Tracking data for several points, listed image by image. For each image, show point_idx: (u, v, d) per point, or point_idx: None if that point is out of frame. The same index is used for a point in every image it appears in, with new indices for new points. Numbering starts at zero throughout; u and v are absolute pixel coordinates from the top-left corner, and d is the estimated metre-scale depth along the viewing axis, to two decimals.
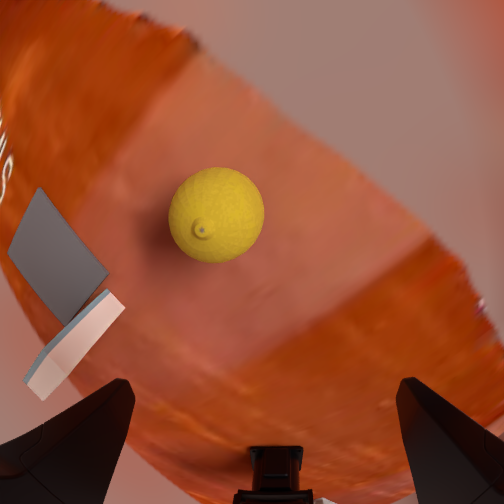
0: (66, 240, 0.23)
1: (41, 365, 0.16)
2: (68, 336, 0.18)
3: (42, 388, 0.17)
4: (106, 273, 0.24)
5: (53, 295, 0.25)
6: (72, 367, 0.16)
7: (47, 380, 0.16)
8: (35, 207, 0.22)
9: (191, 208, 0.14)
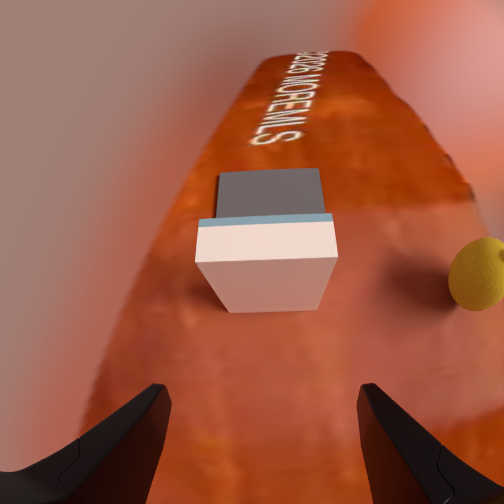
0: None
1: (296, 224, 0.15)
2: None
3: (236, 246, 0.15)
4: None
5: None
6: None
7: (275, 243, 0.15)
8: (301, 175, 0.28)
9: (500, 243, 0.16)
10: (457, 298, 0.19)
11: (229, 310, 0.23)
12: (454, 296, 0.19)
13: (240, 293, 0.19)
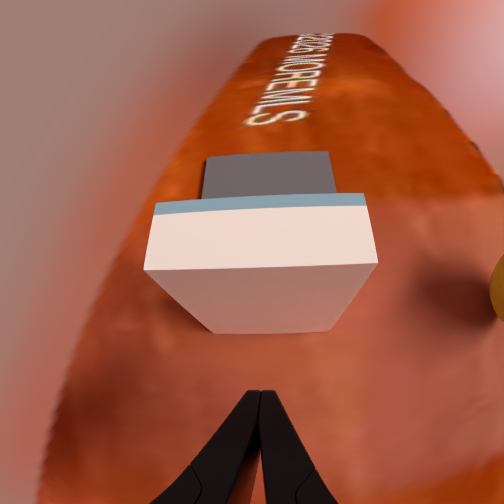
0: None
1: (308, 209, 0.09)
2: None
3: (209, 245, 0.09)
4: None
5: None
6: None
7: (274, 239, 0.09)
8: (308, 159, 0.22)
9: None
10: (503, 313, 0.13)
11: (213, 331, 0.17)
12: (498, 310, 0.13)
13: (224, 314, 0.13)
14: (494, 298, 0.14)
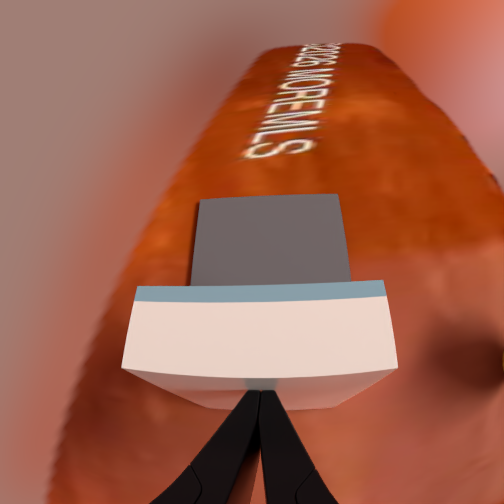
0: (333, 270, 0.18)
1: (318, 303, 0.07)
2: None
3: (197, 347, 0.07)
4: None
5: None
6: None
7: (275, 343, 0.07)
8: (315, 204, 0.20)
9: None
10: None
11: (207, 407, 0.14)
12: None
13: (218, 400, 0.11)
14: None
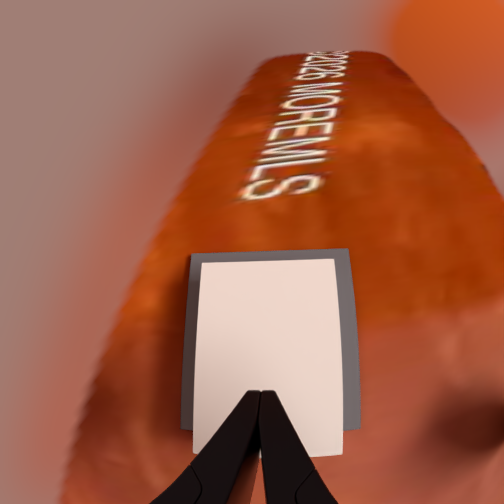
0: None
1: None
2: None
3: None
4: (359, 425, 0.13)
5: None
6: None
7: None
8: None
9: None
10: None
11: (195, 441, 0.12)
12: None
13: (227, 360, 0.13)
14: None
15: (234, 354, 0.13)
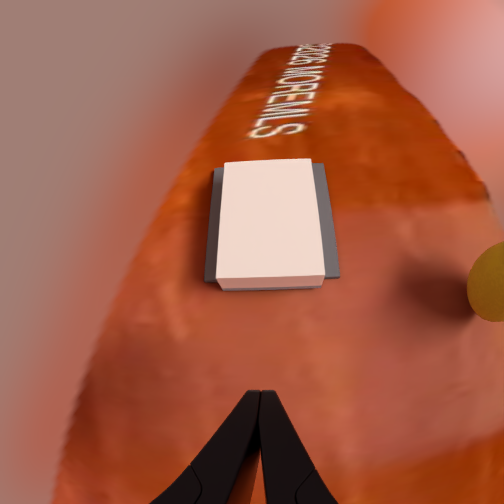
0: (319, 217, 0.23)
1: None
2: None
3: None
4: (339, 274, 0.21)
5: None
6: (311, 167, 0.23)
7: None
8: None
9: None
10: (477, 308, 0.16)
11: (218, 268, 0.19)
12: (474, 306, 0.16)
13: (242, 213, 0.21)
14: (470, 295, 0.17)
15: (246, 209, 0.21)
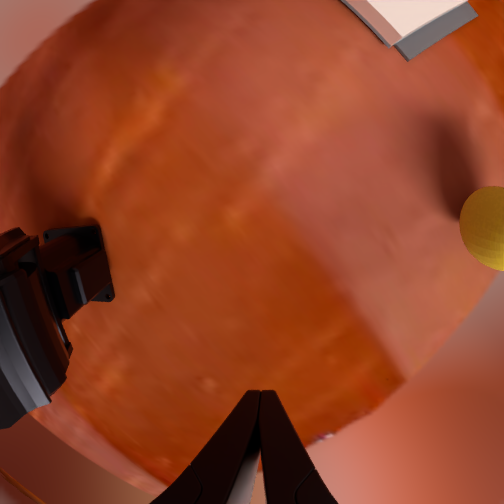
0: (437, 24, 0.13)
1: None
2: (447, 12, 0.12)
3: None
4: (410, 59, 0.15)
5: None
6: None
7: None
8: None
9: None
10: (466, 209, 0.16)
11: None
12: (466, 205, 0.16)
13: None
14: (472, 195, 0.15)
15: None
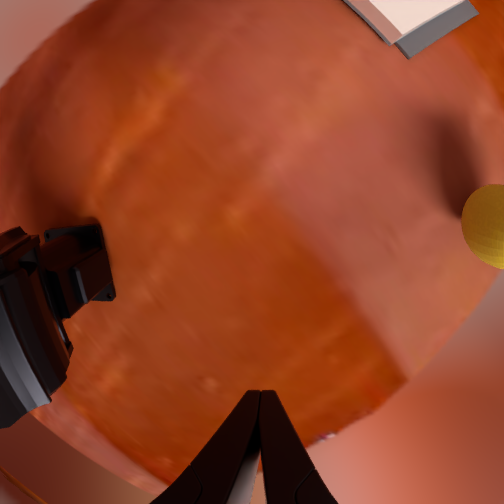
0: (438, 22, 0.13)
1: None
2: (447, 10, 0.12)
3: None
4: (410, 57, 0.15)
5: None
6: None
7: None
8: None
9: None
10: (467, 207, 0.15)
11: None
12: (467, 203, 0.16)
13: None
14: (473, 193, 0.15)
15: None
